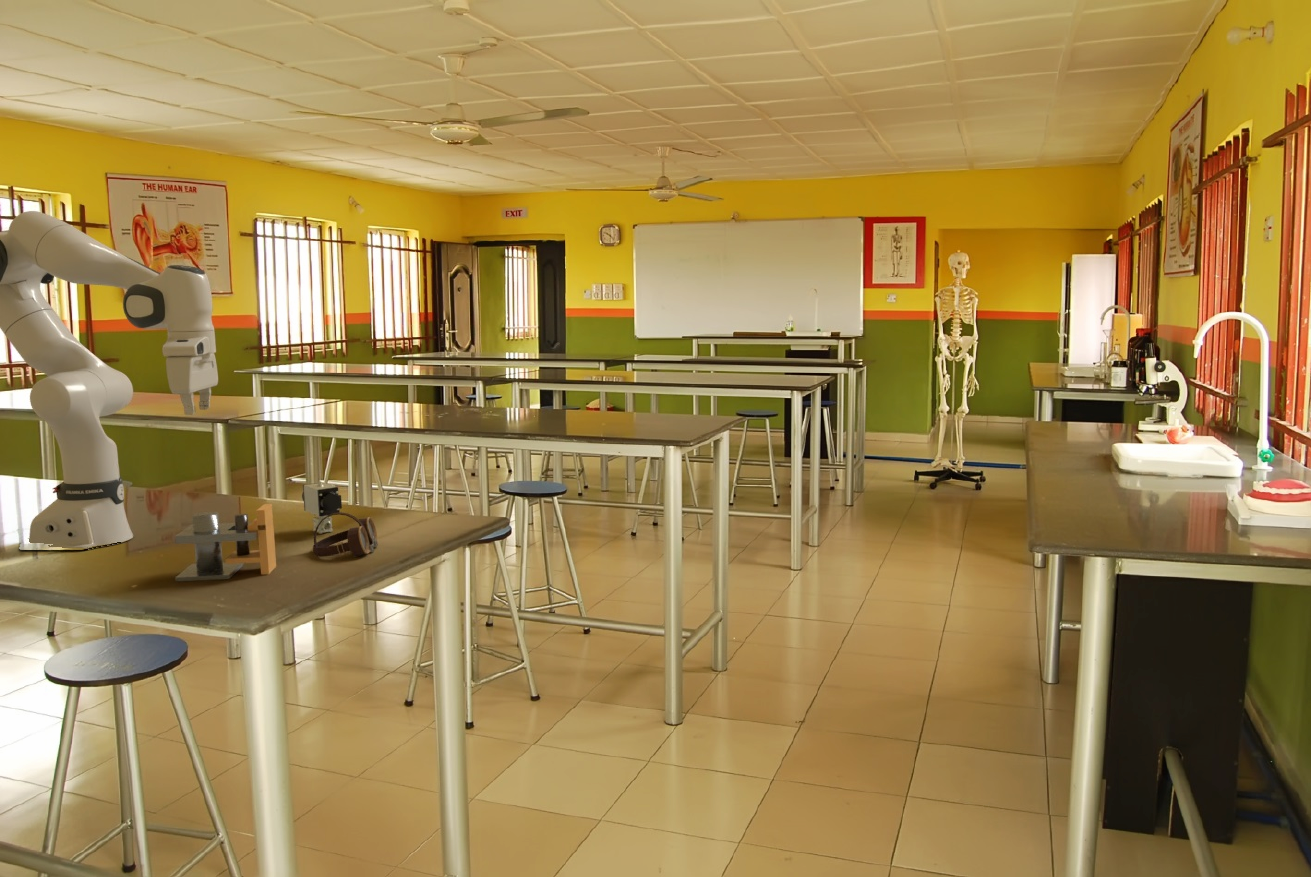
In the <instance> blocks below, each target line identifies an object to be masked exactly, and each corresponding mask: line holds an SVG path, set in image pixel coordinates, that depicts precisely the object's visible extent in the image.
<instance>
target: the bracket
mask: <svg viewBox="0 0 1311 877" xmlns="http://www.w3.org/2000/svg"><path fill="white" fill-rule="evenodd" d="M255 511H256V518H254V520H252V521H250V522H251V523H250V524H249V525H248V531H254V530H258V547H259V548H258V550H256V549H255V550H254V549H253V550H250V554H249V555H244V556H238V555H237V550H236V551H233V552H231V553H230V555H229V556H227V557H226V558H225V562H226V564H236V563H243V564H253V563H255V564H256V563H259V564H260V575H262V576H263V575H270V574H271V573H272V572H273V570H275V568H276V567H277V558H276V545H275V544H276V542H275V529H274V516H273V514H274V513H273V503H264V504H262V505H261V506H260V507H259V508H258V509H256V510H255Z"/></svg>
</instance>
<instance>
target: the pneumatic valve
mask: <svg viewBox="0 0 1311 877" xmlns="http://www.w3.org/2000/svg"><path fill="white" fill-rule="evenodd" d="M301 498H302V502H303V505H304V506H303V508H304V511H305V512H308V513H309V514H312V515H314V517H313V518H311V519H312V521H313V525H312V526H313V528H312V531H313V532H314V533H315V530H316V527H317V526H318V524H319V523H320V521H321V520H322V519H324V518H325V517H326V516H328V515H330V514H333V513H339V512H341V511H340V509H342V508H343V507H342V495H341V494H339V487H338V486H336V485H335V484H334V485H333V484H329V483H325V482H323V481H322V480H318V481H317V482H314V483H309V484H302V494H301ZM316 516H317V517H316ZM332 521H333V517H332V516H330V517H327V518H326V519H324V520H323V521H322V522H321V524H320V525H319V527H318V530H317V533H316V534H318V535H319V534H320V535H321V534H323V533H328V532H330V533H333V531H334V529H333V528H332V527H333V523H332Z"/></svg>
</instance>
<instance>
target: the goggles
mask: <svg viewBox="0 0 1311 877" xmlns="http://www.w3.org/2000/svg"><path fill="white" fill-rule="evenodd" d="M339 515H340V516H341V515H342V516H346V517H349V518H350V519H352V520H354V521H356V523H357V524H358V525H359V526H357V527H350V528H349V529H347V530H344V531H341V532H338V533H335V534H333V535H329V536H328V537H324V538H323V539H321V540H319V541H317V534H318V533H317V530H318V527H319V525H320V524H321V522H322V521H323V520H324V519H326V518H327V517H332V516H339ZM324 519H322V520H321V521H320V523H319V524H318V526H317V527H316V530H315V532H314V533H313V546H312V553H313V554H314V555H315V556H316V557H319V558H320V557H321V558H323V557H330V556H335V555H341V556H342V555H345V554H346V553H347V552H350V553H351V555H352V556H353V557H355V558H358V556H359V557H361V556H364V555H366V554H369V553H374V552H375V547H377V546H378V535H377V533H378V532H377V529H376V526H375V522H374V520H373V519H372V518H371V517H370V516H369V517H367V518H357V517H356V516H355V515H352V514H349V512H342V511H340V512H339V513H333V514H330V515H327V516H326V517H325V518H324ZM345 540H346V541H347V542H344V541H345ZM377 548H378V547H377ZM373 551H374V552H373Z"/></svg>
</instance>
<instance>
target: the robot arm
mask: <svg viewBox="0 0 1311 877" xmlns="http://www.w3.org/2000/svg"><path fill="white" fill-rule="evenodd" d="M55 278H56V279H57V278H58V279H59V280H63V281H65V282H68V283H73V284H76V285H91V286H92V285H93V286H107V287H115V288H120V289H124V290H126V291H125V294H124V296H123V300H122V308H123V313H124V316H125V317H126V319H127V320H128V321H129V323H130V324H131V325H132V326H134V327H136V328H137V329H143V330H167V331H166V332H167V338H166V341H165V343H164V344H163V345H162V355H163V357H167V358H166V360H165V365H166V368H165V369H166V375H167V382H168V386H169V390H170V392H171V393H172V395H180V398H179V399H180V400H181V403H182V406H183V410H184V412H183V413H184V415H186V416H193V415H196V413H197V412H196V409H197V408H196V405H195V403H194V402H195V401H194V393H196V392H198V393H199V401H198V409H199V410H201V411H203V410H204V411H205V410H209V409H210V408H211V397H212V387H216V386H218V383H219V373H218V366H217V360H216V355H215V353H217V347H216V335H215V334H216V333H215V331H216V330H215V327H214V324H213V320H212V316H213V310H214V309H213V308H214V307H213V297H212V289H211V288H212V287H211V284H210V279H209V277H208V275H207V273H206V272H205V271H204V270H203V269H201V268H199V267H195V266H189V265H181V264H172V265H167V266H166V267H165V268H164V269H163V271H162V272H159V271H157V270H155V269H153V268H151V267H148V266H147V265H145V264H143V263H141V262H139V261H137V260H134V259H132V258H131V257H128V256H126V255H124V254H122V253H120V252H119V251H117V250H115V249H113V248H111V247H109V246H107V245H106V244H104V243H102V242H100V241H98V240H97V239H95V238H93V237H91V236H90V235H88V234H87V233H85V232H83V231H81V230H79V229H78V228H77V227H74V226H73V225H71V224H70V223H67V222H66V221H63V220H62V219H59V218H57V217H54V216H53V215H50V214H47V213H44V212H40V211H36V210H29V211H28V210H27V211H24V212H22V213H19V214H18V215H16V216H15V218H13V219H12V221H11V222H10V225H9V228H8V229H7V230H2V231H0V330H1V331H2V333H3V334H4V336H5V337H6V338H7V340H8V341H9V342H10V343H11V345H12V346H13V348H14V349H15V350H16V351H17V354H19V356H20V357H21V358H22V360H23V361H24V362H25V363H26V364H27V365H28V366H29V367H31V368H32V369H34V370H36V371H39V372H41V373H42V374H44V375H46V377H44V378H41V379H40V380H38V381H37V382H35V384H33V386H32V387H31V390H30V394H29V402H30V406H31V408H32V410H33V411H34V413H35V415H37V416H38V417H39V418H40V419H42V420H43V421H45V423H47V425H48V426H49V428H50V429H51V431H52V433H53V435H54V437H55V439H56V442H57V445H58V448H59V453H60V460H61V468H62V475H63V481H61V483H59V484H57V485H56V486H55V487H53V488H52V490H53V491H52V493H53V494H55V493H56V499H55V500H54V501H52V502H51V503H50V504H49V505H48V506H47V507H45V508H44V509H43V510H42V511H41V512H39V513H38V514H37V515H36V516H34V517H33V519H32V521H31V524H30V527H29V537H28V539H29V542H30V543H44V544H53V545H51V546H50V545H48V546H49V547H62V548H87V547H88V548H89V547H92V546H97V545H105V544H111V543H117V542H121V543H124V542H126V541H129V540H131V539H133V537H134V534H133V532H132V530H131V527H130V524H129V521H128V518H127V513H126V510H125V504H124V501H125V489H124V484H123V478H122V477H121V476H120V475H121V474H120V466H119V454H118V446H117V444H116V442H115V441H114V440H113V439H112V438H110V436H108V435H107V434H106V432H105V431H104V428H103V426H102V424H101V420H100V417H106V416H111V415H113V414H115V413H117V412H119V411H121V410H123V409H124V408H126V407H127V406H129V404H130V403H131V401H132V400H133V395H134V387H133V384H132V382H131V380H130V378H129V377H128V376H127V375H126V374H125V373H123V372H121V371H120V370H117V369H115V368H113V367H111V366H109V365H108V364H107V363H105V362H104V361H103V360H101V359H100V358H99V357H98V356H97V355H95V354H94V353H92V351H90V350H89V349H88V348H86V347H85V346H84V344H82V343H81V342H80V341H79V340H78V338H76V337H75V336H74V334H73V333H72V332H71V331H70V329H69V328H68V326H67V325H66V324H65V323H64V321H63V320H62V319H61V317H60V316H59V315H58V314H57V312H56V311H55V310H54V308H53V307H52V306H51V305H50V303H49V302H48V300H47V299H46V298H45V296H44V295H43V293H42V290H41V284H42V285H44V284H45V285H50V284H51V283H52V282H53V281H54V279H55ZM117 544H118V543H117Z"/></svg>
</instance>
